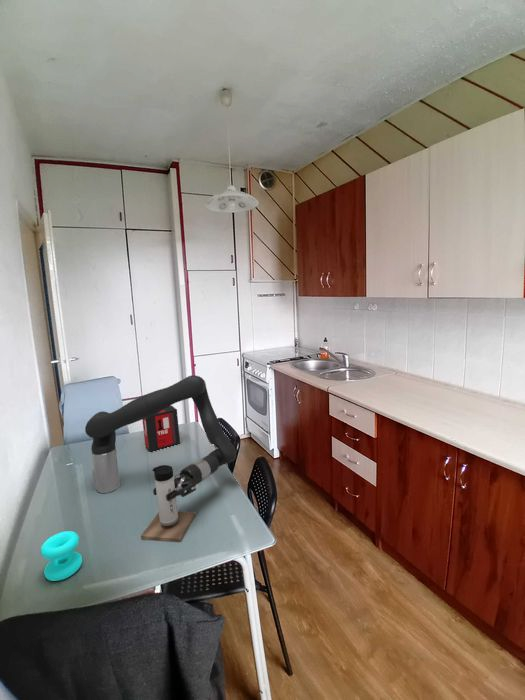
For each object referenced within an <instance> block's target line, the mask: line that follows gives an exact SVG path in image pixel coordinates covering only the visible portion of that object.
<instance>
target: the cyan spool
mask: <svg viewBox="0 0 525 700" xmlns="http://www.w3.org/2000/svg"><path fill="white" fill-rule="evenodd" d="M79 542H80V536H79V534H78V533H76V532H75V531H71V530H66V531H61V532H58V533H55V534H54V535H52V536H50V537H48V539H46V540H45V542H43V544H42V545H41V548H40V555H41V557H42V558H44V559H45V560H49V561H48V563H47V564H46V566H45V568H44V572H43V575H44V577H45V578H46V579H47V580H48V581H50V582H51V581H53V582H55V581H56V582H57V581H63V580H65V579H68V578H69V577H71V576H73V575H74V574H75V573H77V571H78V570H79V569H80V568H81V566H82V563H83V556H82V555H81V554H80V552H78V551H76V550H75V549H76V548H77V546H78V545H79ZM74 550H75V551H74Z"/></svg>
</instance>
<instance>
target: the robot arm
mask: <svg viewBox="0 0 525 700" xmlns="http://www.w3.org/2000/svg"><path fill="white" fill-rule="evenodd" d="M188 399H192V401H193V403H194V404H195V407H196V408H197V411H198V415H199V417H200V422H201V425H202V429H203V431H204V433H205V435H206V438H207V439H208V442H209V444H211V445H216V446H217V447H218V448H216V449H214V450H212V451H211V452H210V453H209V454H207V455H206V456H204V457H202V458H201V459H199V460H197V461H194V462H192V463H190V464H189V465H187V466H185V468H182V469H181V471H180V473H179V474H177V475H174V484H175V490H173V491H172V492H170V493H169V494H167V495H166V500H167V501H170V500H172V499H173V498H175V497H176V498H177V497H182V498H184V497H186V496H188V495H189V494H192V493H193V492H195V491H197V485H199V484H200V483H202V482H203V481H204V480H206V479H207V478H208V477H209V476H211V475H212V474H214V473H215V472H217V471H218V469H219V468H220V467H221V466H223V465H226V464H229V463H232V462H234V461H235V460H236V458H237V451H236V448H235V446H234V444H233V443H232V442H231V441H230V439H229V438H228V437H227V436H226V434H225V433H224V430H223V428H222V426H221V424H220V423H221V422H220V421H219V419H218V416H217V415H216V413H215V410H214V408H213V405H212V403H211V400H210V396H209V393H208V389H207V383H206V381H205V380H204V379H203V377H201V376H199V375H194V374H192V375H191V374H190V375H188V376H187V377H185V378H183V379H181V380H180V381H178V382H176V383H174V384H172V385H169V386H167V387H164V388H160V389H157V390H154V391H151V392H149V393H146V394H143V395H142V396H139V397H137V398H134V399H133V400H131V401H130V402H127V403H126V404H124V405H123V406H122V407H119V408H118V409H117V410H114V411H113V412H107V411H98V412H97V413H94V415H93V416H91V418H89V420H87V422H86V424H85V427H84V429H85V430H84V431H85V434H86V435H87V436H88V437H89V438H91V439H92V444H91V447H90V448H91V449H90V450H91V455H92V463H93V468H92V470H91V471H92V479H93V484H94V491H95V490H97V491H96V492H98V493H99V492H100V494H109V493H111V492H115V491H116V490H118V489H119V488H120V486H121V480H120V471H119V465H118V464H119V463H118V458H117V450H116V441H117V439H116V438H117V436H116V435H117V434H116V431H117V430H118V429H121V428H123V427H126V426H129V425H131V424H134V423H137V422H139V421H143V420H142V419H145V418H148V417H150V416H152V415H155V414H157V413H159V412H161V411H163V410H164V409H166V408H168V407H169V406H173V405H175V404H176V403H180V402H182V401H185V400H188ZM152 492H153V494H152V495H154V496H157V493H156V487H155V488H153V489H152Z"/></svg>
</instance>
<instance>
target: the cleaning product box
mask: <svg viewBox="0 0 525 700" xmlns="http://www.w3.org/2000/svg"><path fill="white" fill-rule="evenodd" d="M141 421H142V427H143V436H144V437H143V438H144V445H145V446H146V447H145V446H144V447H145V448H146V450H147V449H148V450H147V452H151V453H154V452H153V451H155V452H158V451H157V450H159V451H161V450H160V449H162V450H165V449H164V448H166V449H168V448H167V447H169V448H172V447H171V446H173V447H175V446H174V445H177V446H179V445H178V444H180V445H181V441H180V439H181V438H180V429H179V416H178V409H177V408H176V407H174V406H173V405H171V406H169V407H168V408H166V409H164V410H163V411H161V412H159V413H157V414H155V415H152V416H150V417H148V418H145V419H142V420H141Z"/></svg>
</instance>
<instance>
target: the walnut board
mask: <svg viewBox="0 0 525 700" xmlns="http://www.w3.org/2000/svg"><path fill="white" fill-rule="evenodd" d="M196 516H197V515H196V512H191V511H190V512H189V511H178V521H177V522H176V523H174V524H173V525H170V526H163V525H161V523H160V517H159V511H158V512H157V513H156V515H155V516H154V517H153V518H152V520H151V522H150V523H149V524H148V525H147V527H146V528H145V530H144V531H143V532H142V534H141V535H140V539H141V540H143V541H144V540H147V541H160V542H170V543H171V542H173V543H181V542H182V541H183V539H184V537H185V535H186V533H187V532H188V530H189V528H190V527H191V525H192V523H193V521H194V519H195V518H196Z"/></svg>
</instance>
